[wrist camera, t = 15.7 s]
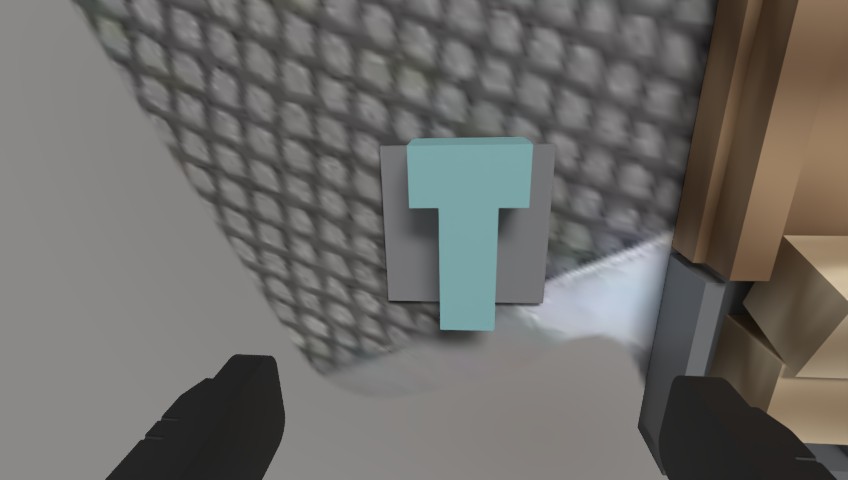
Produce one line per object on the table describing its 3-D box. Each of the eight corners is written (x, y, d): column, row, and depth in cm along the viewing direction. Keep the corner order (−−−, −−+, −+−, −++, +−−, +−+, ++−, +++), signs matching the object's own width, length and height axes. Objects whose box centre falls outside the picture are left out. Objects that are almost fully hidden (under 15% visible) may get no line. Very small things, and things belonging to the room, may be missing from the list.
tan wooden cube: (783, 235, 17) (853, 307, 14) (888, 236, 17) (984, 309, 14) (742, 302, 20) (794, 376, 17) (833, 304, 20) (904, 380, 16)
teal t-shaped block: (406, 145, 17) (413, 329, 20) (533, 144, 17) (521, 331, 19) (413, 138, 19) (418, 303, 22) (524, 136, 19) (514, 305, 22)
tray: (670, 254, 21) (706, 283, 18) (892, 256, 20) (969, 286, 17) (637, 427, 24) (662, 474, 21) (824, 434, 23) (877, 485, 20)
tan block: (724, 314, 21) (782, 364, 17) (811, 316, 21) (889, 368, 17) (707, 381, 22) (757, 440, 19) (788, 384, 22) (856, 445, 18)
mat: (381, 145, 20) (379, 146, 20) (554, 143, 19) (555, 144, 19) (389, 297, 23) (388, 300, 22) (541, 299, 22) (542, 303, 22)
